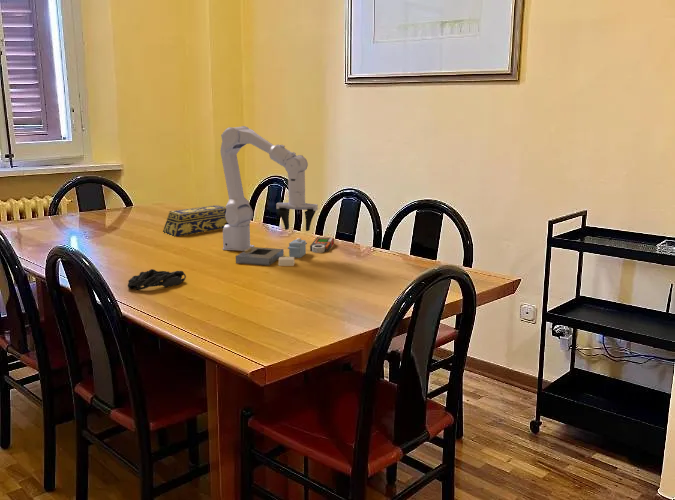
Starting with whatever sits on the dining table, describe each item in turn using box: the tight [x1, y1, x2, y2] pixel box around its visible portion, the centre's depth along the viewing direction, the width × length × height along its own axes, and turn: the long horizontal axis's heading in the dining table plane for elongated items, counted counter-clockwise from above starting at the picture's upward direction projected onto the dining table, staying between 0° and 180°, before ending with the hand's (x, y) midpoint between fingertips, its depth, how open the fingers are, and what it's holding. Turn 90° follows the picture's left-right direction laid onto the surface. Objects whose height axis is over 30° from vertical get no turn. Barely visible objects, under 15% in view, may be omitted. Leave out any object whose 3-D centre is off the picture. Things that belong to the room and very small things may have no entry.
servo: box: [287, 237, 308, 259], centre depth 233 cm, size 4×9×6 cm, turn 165°
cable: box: [127, 268, 187, 291], centre depth 199 cm, size 17×14×4 cm
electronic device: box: [309, 236, 335, 254], centre depth 244 cm, size 7×3×15 cm
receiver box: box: [278, 256, 295, 267], centre depth 221 cm, size 5×4×2 cm
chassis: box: [235, 246, 285, 266], centre depth 228 cm, size 12×14×3 cm
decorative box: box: [162, 204, 229, 238], centre depth 275 cm, size 11×30×9 cm, turn 133°
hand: (297, 229), depth 231 cm, fingers open, 7 cm apart
